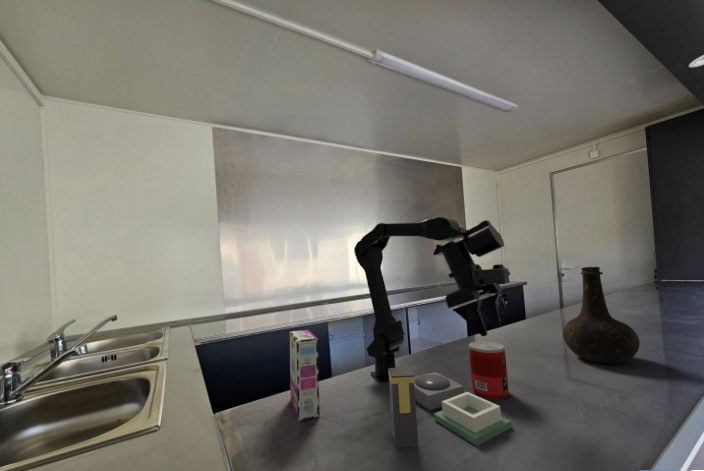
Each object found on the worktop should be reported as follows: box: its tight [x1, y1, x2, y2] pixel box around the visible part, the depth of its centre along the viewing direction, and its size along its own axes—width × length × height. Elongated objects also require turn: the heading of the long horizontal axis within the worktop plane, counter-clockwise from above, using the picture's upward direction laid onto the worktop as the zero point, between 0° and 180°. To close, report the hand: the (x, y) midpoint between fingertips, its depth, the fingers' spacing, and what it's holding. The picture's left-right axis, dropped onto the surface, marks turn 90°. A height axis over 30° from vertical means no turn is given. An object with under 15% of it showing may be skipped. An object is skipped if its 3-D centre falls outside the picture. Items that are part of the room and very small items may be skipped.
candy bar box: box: [289, 329, 321, 422], centre depth 66 cm, size 11×5×16 cm, turn 21°
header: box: [433, 391, 513, 447], centre depth 57 cm, size 10×10×4 cm
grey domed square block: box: [414, 371, 465, 411], centre depth 69 cm, size 10×10×3 cm
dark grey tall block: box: [388, 366, 419, 449], centre depth 52 cm, size 5×4×12 cm
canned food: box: [468, 340, 509, 400], centre depth 70 cm, size 8×8×11 cm
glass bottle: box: [562, 266, 640, 365], centre depth 88 cm, size 18×18×28 cm
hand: (492, 331), depth 63 cm, fingers open, 9 cm apart
